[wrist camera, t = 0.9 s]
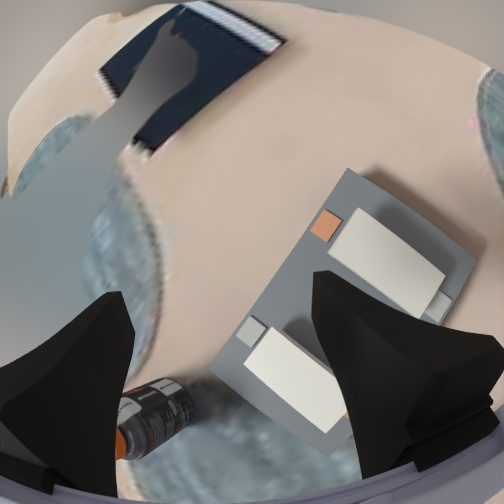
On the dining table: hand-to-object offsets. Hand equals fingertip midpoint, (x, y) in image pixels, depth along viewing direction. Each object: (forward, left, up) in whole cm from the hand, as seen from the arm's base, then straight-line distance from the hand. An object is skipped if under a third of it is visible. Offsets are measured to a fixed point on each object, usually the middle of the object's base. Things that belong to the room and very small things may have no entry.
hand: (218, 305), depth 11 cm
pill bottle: (+3, +17, -16) cm, 23 cm away
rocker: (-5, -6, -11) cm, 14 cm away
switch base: (-5, -1, -15) cm, 16 cm away
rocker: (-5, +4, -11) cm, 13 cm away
